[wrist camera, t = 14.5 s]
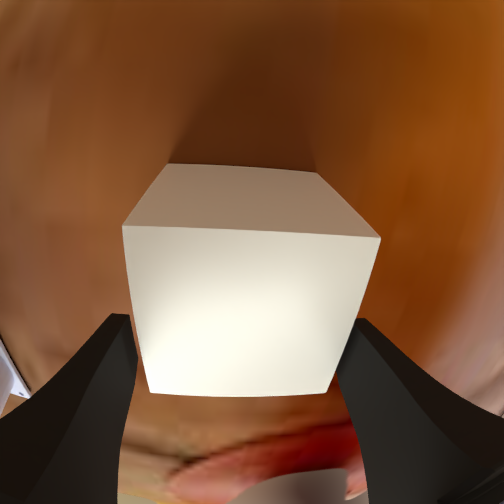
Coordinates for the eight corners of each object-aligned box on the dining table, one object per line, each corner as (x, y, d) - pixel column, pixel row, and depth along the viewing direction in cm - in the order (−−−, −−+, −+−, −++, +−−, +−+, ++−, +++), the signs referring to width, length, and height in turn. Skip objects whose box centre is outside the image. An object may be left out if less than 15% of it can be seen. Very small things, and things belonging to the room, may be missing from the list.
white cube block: (170, 289, 16) (150, 392, 10) (167, 163, 12) (122, 225, 7) (294, 293, 16) (325, 392, 11) (316, 172, 13) (381, 237, 8)
